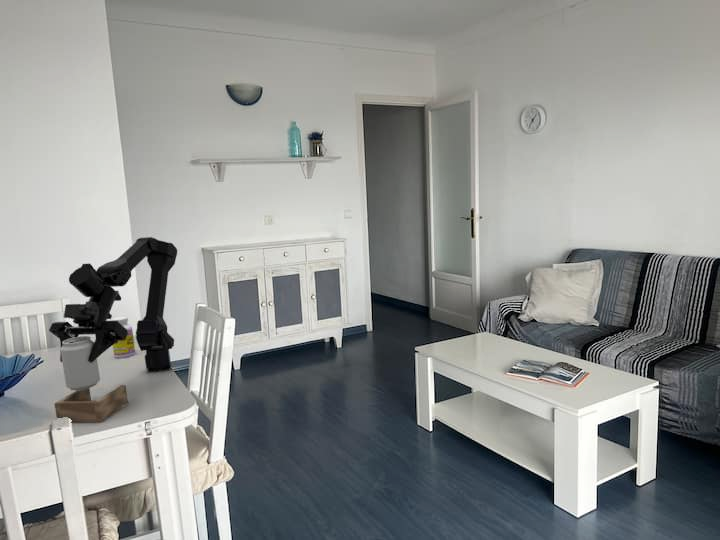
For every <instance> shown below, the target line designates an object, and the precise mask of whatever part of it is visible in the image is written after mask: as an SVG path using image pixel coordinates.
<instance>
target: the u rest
mask: <svg viewBox="0 0 720 540" xmlns="http://www.w3.org/2000/svg"><path fill="white" fill-rule="evenodd" d="M128 399H129V398H128V391H127V385H126V384H121V385H119V386H118V387H116V388H114V389H113V390H111V391H110V392H108V393H107V394H105V395H103V396H102V397H101V398H99V399H98V400H92V396H91V390H90V388H88V389H84V390H74V391H73V392H72V393H70V394H69V395H67V396H65V397H63V398H61V399H59V400H58V401H56V402H54V408H55V416H56V419H57V418H63V417H68V418H70V419H71V420H72V422H71V423H102V422H104V421H105V420H107V419H108V418H109V417H111V416H112V415H113V414H112V413H114V412H115V411H116V410H118V409H119V408H121V407H122V406H123V405H125V404H126V403H128V404H129V400H128ZM126 405H127V404H126ZM126 405H125V406H126ZM123 407H124V406H123ZM123 407H122V408H123ZM122 408H121V409H122ZM119 410H120V409H119ZM119 410H118V411H119ZM116 412H117V411H116ZM116 412H115V413H116ZM115 413H114V414H115ZM111 414H112V415H111ZM110 415H111V416H110ZM108 416H109V417H108ZM107 417H108V418H107ZM106 418H107V419H106ZM104 419H105V420H104ZM103 420H104V421H103Z"/></svg>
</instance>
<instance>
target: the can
mask: <svg viewBox="0 0 720 540" xmlns="http://www.w3.org/2000/svg"><path fill="white" fill-rule="evenodd" d="M94 342H95V341H93V340H91V336H87V335H85V336H82V335H81V336H78V337H75V338H70V339H67V340H65V341H63V342H62V344H63V346H62V347H61V346H60V348H59V350H60V351H61V357H62V362H61V363H62V368H63V375H64V379H65V380H64V381H65V386H66V388H68V389H69V390H71V391H77V390H84V389H88V388H89V389H90V388H93V387H96V385H98V383H99V382H100V381H101V378H100V377H101V376H100V370H99V364H98V358H97V359H95V360H94V361H93V362H92V363H90V362H89V361H88V359H89V356H90V353H91V350H92V348H93V345H94ZM60 351H59V352H60Z"/></svg>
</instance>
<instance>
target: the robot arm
mask: <svg viewBox="0 0 720 540" xmlns="http://www.w3.org/2000/svg"><path fill="white" fill-rule="evenodd" d="M177 256H178V249H177V247H176V246H175V245H174V243H172V242H168V241H167V242H166V241H163V240H159V239H157V238H155V237H152V236H151V237H150V236H147V237H139V238H137V239H136V240H135V242H134V243H133V244H132V245H131V246H130V247H128V249H127V250H125V251H124V252H123V253H122V254H121V255H120V256H119V257H117V259H115V260H112V261H108V262H105V263H103V264H101V265H100V266H98V268H97V269H95V268H94V266H93V265H92V264H91V263H82V265H81V267H78V268H76V269H74V271H73V272H72V273H70V275H69V277H68V282H69V284H70V285H72V286H73V287H74V288H75V289H76V290H77V291H78V292H79V293H80V294H82V296H84V297H85V298H89V299H88V301H86V302H85V304H81V303H71V304H69V303H67V304H65V307H64V313H63V318H64V319H71V320H72V319H73V321H72V322H73V324H75V325H78V326H73V325H72V324H71V323H69V321H56V322H53V323H52V322H51V326H50V327H49V329H48V332H50V333H51V334H53V335H54V336H55V337H56V338H57V339H59V342H60V348H61V347H62V346H63V344H62V342H63V341H65V340H67V339H70V338H75V337H79V336H80V335H81V336H82V335H89V336H90V335H94V336H95V340H94V341H93V342H94V345H93V348H92V350H91V353H90V356H89V359H88V361H89V362H90V363H92V362H93V361H94V360H95V359H97V360H98V358H99V357H100V356H101V355H102V354H103V353H105V352H106V351H107V350H108V349H109V348H111V347H113V344H115V343H118V341H125V340H126V337H127V335H128V332H127V329H126V328H125V327H124V326H123V325H121V324H120V323H119V322H118V321H112V320H111V319H112V318H113V315H112V314H111V313H110V312H111V310H112V308H113V305H114V304H115V301H116V302H117V301H119V302H121V301H122V296H121V295H120V293H119V292H120V291H119V290H116V289H114V288H113V287H115V288H118V287H124V286H126V284H127V283H128V282H129V281H130V279H131V277H132V271H133V270H134V268H136V267H137V266H138V265H139V264H140V263H141V262H142V261H143V260H145V258H146V260H147V261H146V262H147V264H148V265H149V267H150V269H151V270H150V278H149V285H148V293H147V294H148V296H147V304H146V311H145V316H144V317H143V318H142V319H141V320H138V321H137V322H136V323H137V324H136V331H135V332H134V333H135V340H136V343H137V345H138V347H139V349H140V351H142V352H143V351H145V355H144V360H145V367H146V369H147V373H154V372H160V371H165V370H166V371H167V370H171V369H172V368H171V367H172V363H173V362H172V361H171V353H170V349H173V347H174V346H175V339H174V338H173V336H172V335H170V334H169V333H168V325H167V323H166V321H165V319H164V314H165V313H164V311H165V302H166V295H167V294H166V293H167V286H168V278H169V272H170V271H171V269H172V268H173V267H174V266H175V264H176V259H177ZM59 352H60V355H59V356H60V357H59V361H60V363H62V357H61V351H59Z"/></svg>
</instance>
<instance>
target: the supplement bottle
mask: <svg viewBox="0 0 720 540" xmlns="http://www.w3.org/2000/svg"><path fill="white" fill-rule="evenodd" d="M111 319H112V318H111ZM111 321H118V322H119V323H120V324H121V325H123V326H124V327H125V328H126V329H127V332H128V335H127V337H126V340H125V341H118V343H115V344H113V345H112V348H113V349H112V350H113V356H114V358H116V359H123V358H130V357H132V356H134V355H135V354H136V347H135V340H134V331H133V326H132V325H131V324H130V323H128V322H129V319H128V316H119V317H114V318H113V319H112V320H111Z"/></svg>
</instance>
